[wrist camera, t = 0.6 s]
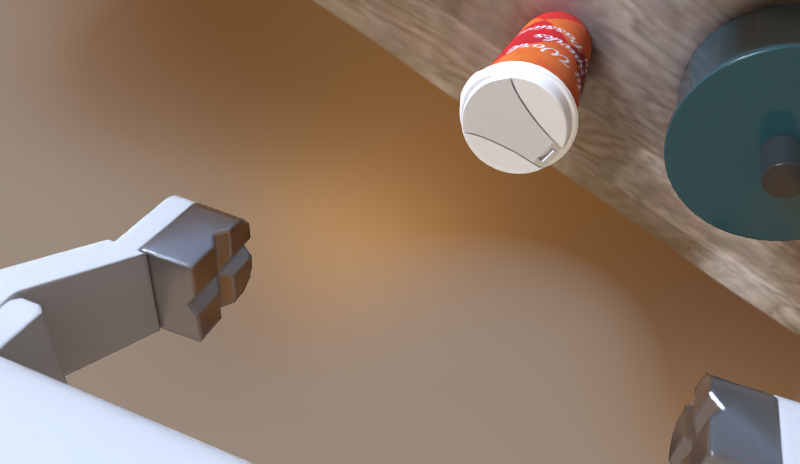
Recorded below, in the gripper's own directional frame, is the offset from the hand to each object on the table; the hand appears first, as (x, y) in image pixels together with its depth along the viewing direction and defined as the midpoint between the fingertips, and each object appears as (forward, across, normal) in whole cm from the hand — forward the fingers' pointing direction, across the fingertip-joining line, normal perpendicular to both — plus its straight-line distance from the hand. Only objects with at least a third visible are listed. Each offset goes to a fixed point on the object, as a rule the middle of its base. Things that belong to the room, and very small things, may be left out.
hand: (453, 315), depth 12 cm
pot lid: (+35, -12, +12) cm, 39 cm away
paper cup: (+44, +4, +12) cm, 46 cm away
